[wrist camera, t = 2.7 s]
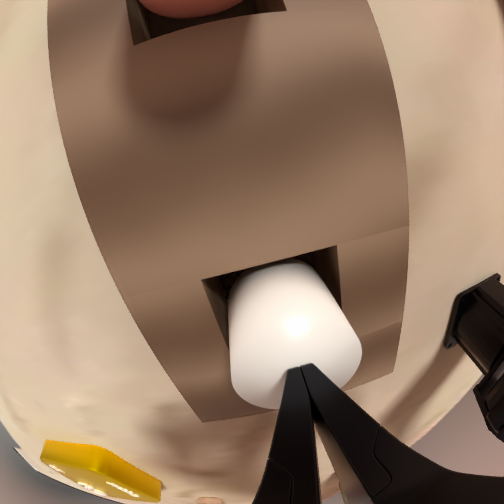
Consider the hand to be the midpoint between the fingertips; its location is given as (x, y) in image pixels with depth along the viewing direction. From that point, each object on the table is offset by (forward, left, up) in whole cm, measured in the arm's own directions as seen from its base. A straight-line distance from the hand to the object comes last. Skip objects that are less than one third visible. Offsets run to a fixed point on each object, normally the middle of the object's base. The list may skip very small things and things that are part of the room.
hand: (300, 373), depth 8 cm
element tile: (-27, +31, -8) cm, 42 cm away
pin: (0, 0, -4) cm, 4 cm away
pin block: (+7, 0, -7) cm, 10 cm away
